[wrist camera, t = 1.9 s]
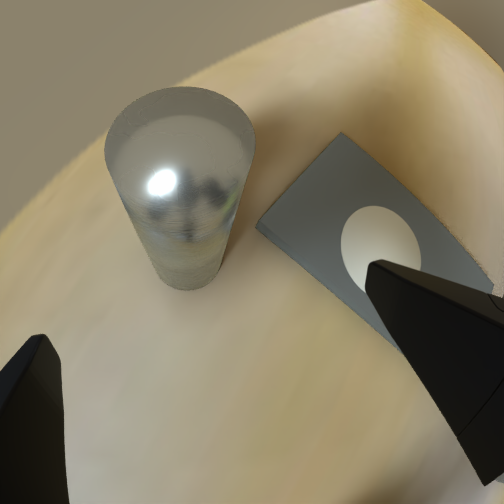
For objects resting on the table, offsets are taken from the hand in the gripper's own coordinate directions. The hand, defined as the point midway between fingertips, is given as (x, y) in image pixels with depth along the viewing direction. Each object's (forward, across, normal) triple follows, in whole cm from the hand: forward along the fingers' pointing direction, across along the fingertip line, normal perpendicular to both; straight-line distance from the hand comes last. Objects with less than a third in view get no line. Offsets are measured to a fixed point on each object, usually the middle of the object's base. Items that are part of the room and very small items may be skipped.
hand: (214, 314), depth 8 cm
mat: (+9, -15, +7) cm, 19 cm away
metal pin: (+12, 0, +5) cm, 12 cm away
